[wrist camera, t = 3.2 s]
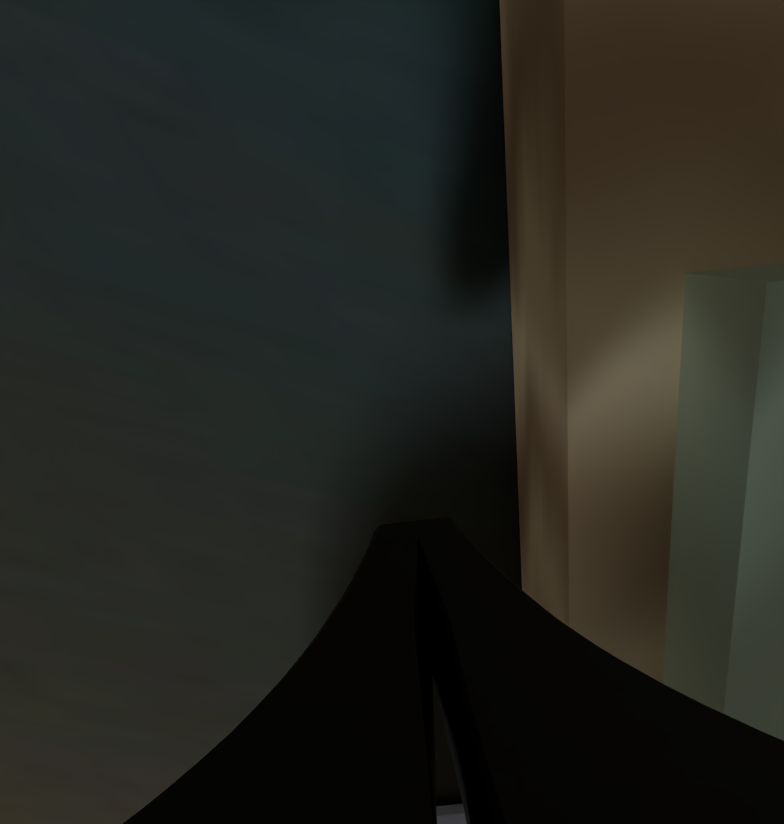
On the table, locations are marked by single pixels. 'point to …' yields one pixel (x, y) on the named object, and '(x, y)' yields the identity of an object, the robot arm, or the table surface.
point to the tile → (730, 499)
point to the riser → (624, 272)
